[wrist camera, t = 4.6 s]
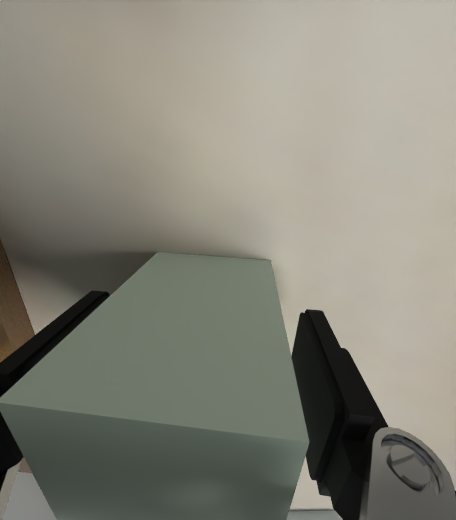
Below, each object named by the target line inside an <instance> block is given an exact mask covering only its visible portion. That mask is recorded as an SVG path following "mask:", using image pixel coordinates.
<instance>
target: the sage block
mask: <svg viewBox="0 0 456 520" xmlns="http://www.w3.org/2000/svg"><path fill="white" fill-rule="evenodd" d="M0 412H1V414H2V416H3V418H4V420H5V422H6V423H7V425H8V427H9V429H10V431H11V433H12V435H13V437H14V439H15V441H16V443H17V445H18V446H19V448H20V450H21V452H22V454H23V456H24V458H25V460H26V462H27V464H28V466H29V468H30V469H31V471H32V473H33V475H34V477H35V479H36V481H37V483H38V485H39V487H40V489H41V490H42V492H43V494H44V496H45V498H46V500H47V502H48V504H49V506H50V508H51V509H52V511H53V513H54V515H55V517H56V519H57V520H286V519H287V516H288V512H289V509H290V506H291V502H292V499H293V496H294V492H295V489H296V486H297V482H298V479H299V476H300V472H301V469H302V465H303V462H304V459H305V455H306V452H307V449H308V445H309V438H308V433H307V428H306V424H305V419H304V414H303V410H302V405H301V400H300V395H299V391H298V386H297V381H296V377H295V372H294V367H293V363H292V358H291V353H290V348H289V344H288V339H287V334H286V330H285V325H284V320H283V316H282V311H281V306H280V301H279V297H278V292H277V287H276V283H275V278H274V273H273V269H272V264H271V260H258V259H245V258H232V257H218V256H205V255H191V254H178V253H165V252H157V253H156V254H155V255H154V256H153V257H152V258H151V259H149V260H148V261H147V262H146V263H145V264H144V265H143V266H142V267H141V268H140V269H139V270H138V271H137V272H135V273H134V274H133V275H132V276H131V277H130V278H129V279H128V280H127V281H126V282H125V283H124V284H122V285H121V286H120V287H119V288H118V289H117V290H116V291H115V292H114V293H113V294H112V295H111V296H110V297H108V298H107V299H106V300H105V301H104V302H103V303H102V304H101V305H100V306H99V307H98V308H97V309H95V310H94V311H93V312H92V313H91V314H90V315H89V316H88V317H87V318H86V319H85V320H84V321H83V322H81V323H80V324H79V325H78V326H77V327H76V328H75V329H74V330H73V331H72V332H71V333H70V334H68V335H67V336H66V337H65V338H64V339H63V340H62V341H61V342H60V343H59V344H58V345H57V346H56V347H54V348H53V349H52V350H51V351H50V352H49V353H48V354H47V355H46V356H45V357H44V358H43V359H41V360H40V361H39V362H38V363H37V364H36V365H35V366H34V367H33V368H32V369H31V370H30V371H29V372H27V373H26V374H25V375H24V376H23V377H22V378H21V379H20V380H19V381H18V382H17V383H16V384H14V385H13V386H12V387H11V388H10V389H9V390H8V391H7V392H6V393H5V394H4V395H3V396H2V397H0Z"/></svg>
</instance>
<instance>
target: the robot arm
mask: <svg viewBox="0 0 456 520" xmlns="http://www.w3.org/2000/svg"><path fill="white" fill-rule="evenodd" d="M108 297H110V294H109V293H108V292H102V291H91V292H89V293H88V294H87V295H86V296H84V297H83V298H82V299H80V300H79V301H78V302H77V303H75V304H74V305H73V306H72V307H70V308H69V309H68V310H66V311H65V312H64V313H63V314H61V315H60V316H59V317H58V318H56V319H55V320H54V321H52V322H51V323H50V324H49V325H47V326H46V327H45V328H44V329H42V330H41V331H40V332H38V333H37V334H36V335H35V336H33V337H32V338H31V339H30V340H28V341H27V342H26V343H24V344H23V345H22V346H21V347H19V348H18V349H17V350H16V351H14V352H13V353H12V354H10V355H9V356H8V357H7V358H5V359H4V360H3V361H2V362H0V397H2V396H3V395H4V394H5V393H6V392H7V391H8V390H9V389H10V388H11V387H12V386H13V385H14V384H16V383H17V382H18V381H19V380H20V379H21V378H22V377H23V376H24V375H25V374H26V373H27V372H29V371H30V370H31V369H32V368H33V367H34V366H35V365H36V364H37V363H38V362H39V361H40V360H41V359H43V358H44V357H45V356H46V355H47V354H48V353H49V352H50V351H51V350H52V349H53V348H54V347H56V346H57V345H58V344H59V343H60V342H61V341H62V340H63V339H64V338H65V337H66V336H67V335H68V334H70V333H71V332H72V331H73V330H74V329H75V328H76V327H77V326H78V325H79V324H80V323H81V322H83V321H84V320H85V319H86V318H87V317H88V316H89V315H90V314H91V313H92V312H93V311H94V310H95V309H97V308H98V307H99V306H100V305H101V304H102V303H103V302H104V301H105V300H106V299H107V298H108ZM291 358H292V363H293V367H294V372H295V377H296V381H297V386H298V391H299V395H300V400H301V405H302V410H303V414H304V419H305V424H306V428H307V433H308V438H309V445H308V449H307V452H306V459H307V464H308V469H309V474H310V477H311V479H312V480H317V485H318V490H319V494H320V495H325V496H331V501H332V505H333V509H334V510H335V511H336V512H337V513H338V514H339V516H340V518H339V520H456V491H455V489H454V485H453V482H452V479H451V477H450V474H449V472H448V471H447V469H446V467H445V466H444V464H443V463H442V461H441V460H440V459H439V458H438V456H437V455H436V454H435V453H434V452H433V451H432V450H431V449H430V448H429V447H428V446H427V445H425V444H424V443H423V442H422V441H421V440H419V439H418V438H416V437H415V436H413V435H411V434H410V433H408V432H405V431H403V430H401V429H398V428H392V427H388V425H387V423H386V421H385V419H384V417H383V416H382V414H381V412H380V410H379V408H378V406H377V404H376V402H375V401H374V399H373V397H372V395H371V393H370V391H369V389H368V387H367V385H366V384H365V382H364V380H363V378H362V376H361V374H360V372H359V370H358V368H357V367H356V365H355V363H354V361H353V359H352V357H351V355H350V353H349V352H348V351H347V350H346V349H345V348H341V347H340V345H339V343H338V341H337V339H336V337H335V335H334V333H333V331H332V329H331V327H330V325H329V323H328V321H327V319H326V317H325V315H324V313H323V311H319V310H308V309H307V310H306V311H305V313H301V314H300V317H299V322H298V327H297V332H296V337H295V342H294V347H293V352H292V357H291ZM23 457H24V456H23V454H22V452H21V450H20V448H19V446H18V445H17V443H16V441H15V439H14V437H13V435H12V433H11V431H10V429H9V427H8V425H7V423H6V422H5V420H4V418H3V416H2V414H1V412H0V520H2V519H3V515H4V512H5V509H6V506H7V503H8V500H9V497H10V494H11V490H12V487H13V484H14V481H15V478H16V475H17V472H18V469H19V465H20V462H21V460H22V458H23Z"/></svg>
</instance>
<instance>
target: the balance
mask: <svg viewBox="0 0 456 520" xmlns="http://www.w3.org/2000/svg"><path fill="white" fill-rule="evenodd" d="M33 336H35V335H34V332H33V329H32V326H31V324H30V321H29V318H28V315H27V312H26V310H25V307H24V304H23V301H22V299H21V296H20V293H19V290H18V288H17V285H16V282H15V279H14V277H13V274H12V271H11V268H10V266H9V263H8V260H7V257H6V255H5V252H4V249H3V246H2V244H1V241H0V362H2V361H3V360H4V359H5V358H7V357H8V356H9V355H10V354H12V353H13V352H14V351H16V350H17V349H18V348H19V347H21V346H22V345H23V344H24V343H26V342H27V341H28V340H30V339H31V338H32V337H33ZM18 471H19V472H27V473H32V471H31V469H30V468H29V466H28V464H27V462H26V460H25V458H24V457H23V458H22V460H21V462H20V465H19V469H18ZM32 474H33V473H32Z"/></svg>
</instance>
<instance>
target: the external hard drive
mask: <svg viewBox="0 0 456 520" xmlns="http://www.w3.org/2000/svg"><path fill="white" fill-rule="evenodd" d="M286 520H339V515H338V513H337V512H336V511H335V510H332V511H289V512H288V516H287V519H286Z"/></svg>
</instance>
